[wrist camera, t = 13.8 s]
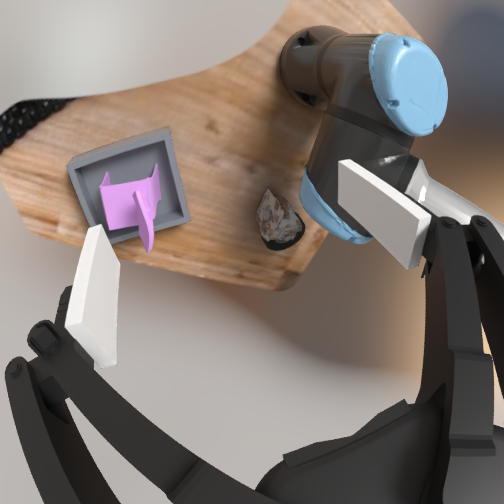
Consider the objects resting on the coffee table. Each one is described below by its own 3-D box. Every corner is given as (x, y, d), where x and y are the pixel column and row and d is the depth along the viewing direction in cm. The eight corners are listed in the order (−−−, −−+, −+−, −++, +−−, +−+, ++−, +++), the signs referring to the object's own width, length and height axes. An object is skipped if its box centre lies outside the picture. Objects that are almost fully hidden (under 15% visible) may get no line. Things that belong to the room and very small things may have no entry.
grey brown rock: (283, 234, 63) (242, 234, 58) (308, 192, 56) (265, 187, 51) (298, 258, 59) (254, 260, 54) (326, 215, 52) (281, 212, 47)
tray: (168, 126, 41) (169, 131, 38) (188, 209, 50) (191, 221, 47) (72, 157, 38) (66, 165, 35) (102, 235, 48) (100, 248, 45)
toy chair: (102, 165, 40) (82, 210, 29) (157, 156, 42) (159, 197, 31) (110, 212, 45) (100, 269, 33) (162, 204, 47) (168, 259, 36)
